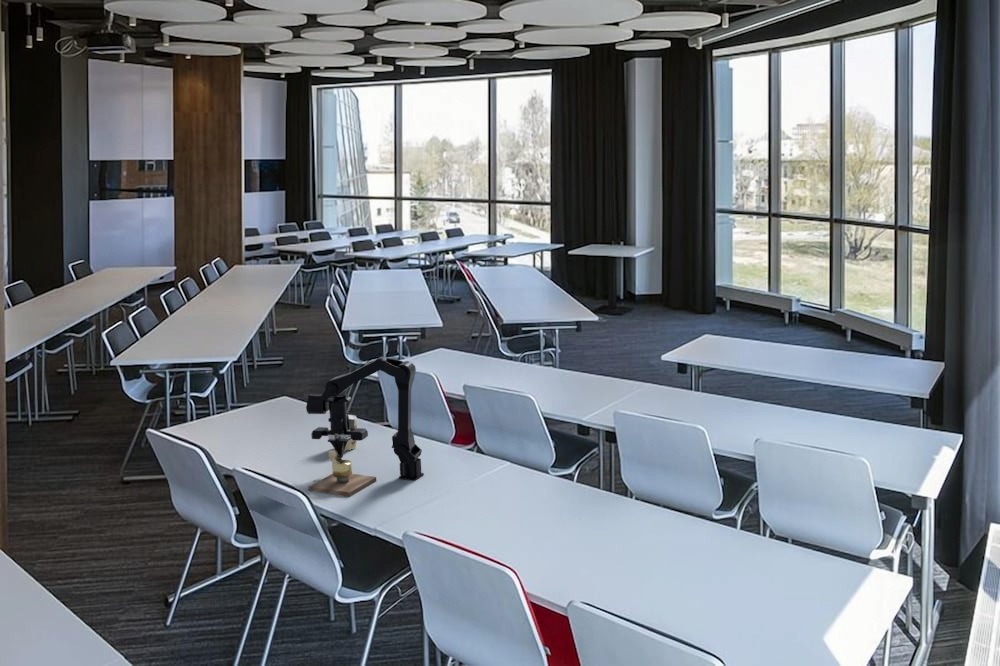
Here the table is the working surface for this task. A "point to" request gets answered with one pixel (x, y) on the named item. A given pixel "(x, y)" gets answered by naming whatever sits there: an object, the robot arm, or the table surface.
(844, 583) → the table surface
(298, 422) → the table surface
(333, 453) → the beige elongated piece
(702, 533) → the table surface
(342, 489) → the base
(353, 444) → the coffee cup
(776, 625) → the table surface
